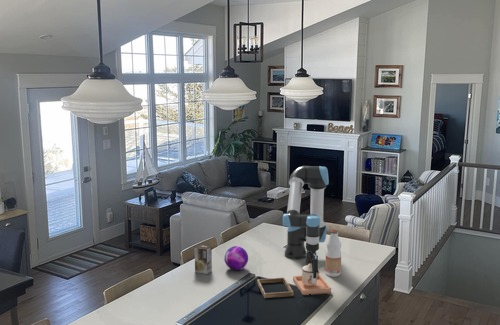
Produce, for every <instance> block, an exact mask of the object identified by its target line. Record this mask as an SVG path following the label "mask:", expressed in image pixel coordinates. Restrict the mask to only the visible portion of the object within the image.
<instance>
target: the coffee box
mask: <svg viewBox="0 0 500 325" xmlns="http://www.w3.org/2000/svg"><path fill="white" fill-rule="evenodd" d="M193 250H194V272H195V273H199V274H205V275H208V274H210V273H211V272H212V269H213V266H212V265H213V264H212V263H213V262H212V261H213V260H212V251H213V250H212V246H210V245H205V244H204V245H203V244H198V245H197V246H196V247H194V249H193Z"/></svg>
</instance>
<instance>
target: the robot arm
mask: <svg viewBox="0 0 500 325" xmlns="http://www.w3.org/2000/svg"><path fill="white" fill-rule="evenodd" d="M329 182H330V181H329V171H328V168H327V167H326V166H321V165H319V166H311V165H302V166H299V167H297V168H296V169H295V170H293V172H292V173H291V174H290V177H289V180H288V184H289V191H288V192H289V193H288V202H287V209H286V213H283V215H282V226H284V227H287V237H286V238H287V239H286V240H287V241H286V242H287V244H286V247H285V250H284V257H286V258H287V259H293V260H300V259H304V258H305V264H306V266H307V265H308V264H312V272H311V273H312V283H316V282H317V273H318V270H319V264H318V263H319V260H318V259H319V256H318V254H317V251H318V250H319V249H320V244H319V243H324V242H326V240H327V239H326V238H327V232H328V225H327V224H326V222H325V221H324V201H325V200H324V197H325V196H324V195H325V189H326V188H327V186H328V185H329ZM305 184H306V185H307V186H308V188H309V189H310V202H309V203H310V214H300V213H301V211H300V210H301V202H302V201H301V200H302V199H301V198H302V192H303V190H302V189H303V187H304V185H305Z"/></svg>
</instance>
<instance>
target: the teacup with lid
mask: <svg viewBox="0 0 500 325" xmlns="http://www.w3.org/2000/svg"><path fill="white" fill-rule="evenodd" d="M301 270H302V271H301V272H302V273H301V276H302V283H303V284H304V285H307V286H313V285H316V284H317V282H316V283H312V273H311V272H312V263H311V264H308V265H307V264H306V265H304V266H302V267H301ZM318 275H320V269H318V273H317V277H318Z"/></svg>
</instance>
